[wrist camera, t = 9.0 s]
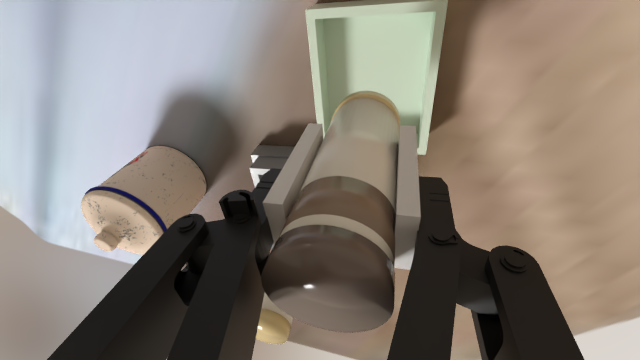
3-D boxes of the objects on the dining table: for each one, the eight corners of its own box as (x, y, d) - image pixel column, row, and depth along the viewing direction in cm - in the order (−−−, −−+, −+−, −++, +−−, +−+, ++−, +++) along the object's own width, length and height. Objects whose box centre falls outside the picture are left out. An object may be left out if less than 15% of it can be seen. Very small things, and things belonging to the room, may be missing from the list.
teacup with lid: (142, 129, 34) (46, 193, 25) (215, 165, 35) (149, 240, 26) (140, 195, 41) (66, 263, 32) (200, 224, 42) (145, 298, 33)
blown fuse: (331, 90, 18) (247, 242, 8) (403, 90, 17) (399, 261, 7) (335, 150, 20) (273, 320, 11) (398, 153, 19) (390, 342, 10)
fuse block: (258, 144, 31) (242, 165, 28) (332, 147, 30) (324, 170, 26) (280, 236, 40) (269, 260, 37) (339, 242, 38) (333, 268, 35)
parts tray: (315, 3, 22) (305, 9, 20) (443, -6, 20) (448, -1, 18) (326, 134, 29) (319, 150, 26) (424, 137, 27) (425, 154, 24)
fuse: (282, 217, 34) (237, 315, 25) (316, 221, 34) (283, 324, 24) (288, 241, 37) (248, 339, 28) (320, 245, 36) (290, 347, 27)
